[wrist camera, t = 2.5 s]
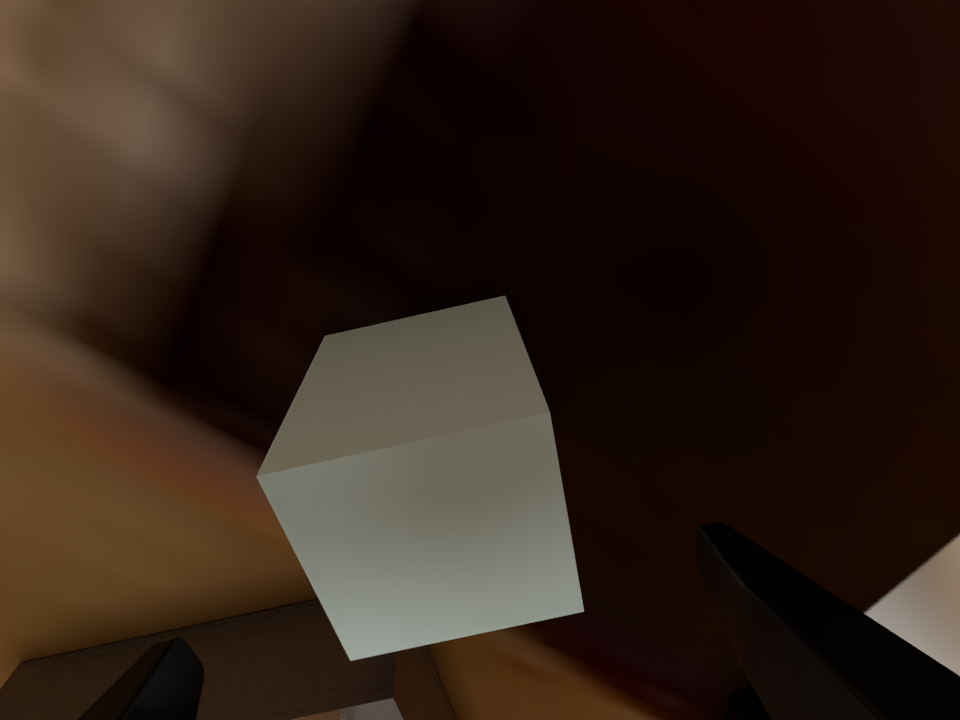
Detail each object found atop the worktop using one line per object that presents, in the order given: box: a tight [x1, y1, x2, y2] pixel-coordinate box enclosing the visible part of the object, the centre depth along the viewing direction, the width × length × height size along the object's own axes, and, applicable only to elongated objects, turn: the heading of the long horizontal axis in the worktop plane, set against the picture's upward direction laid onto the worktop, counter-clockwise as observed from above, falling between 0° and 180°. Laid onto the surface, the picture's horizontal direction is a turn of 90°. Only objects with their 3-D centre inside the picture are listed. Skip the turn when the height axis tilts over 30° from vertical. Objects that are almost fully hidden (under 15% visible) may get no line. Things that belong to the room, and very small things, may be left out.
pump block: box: [256, 296, 584, 661], centre depth 12 cm, size 5×5×6 cm
